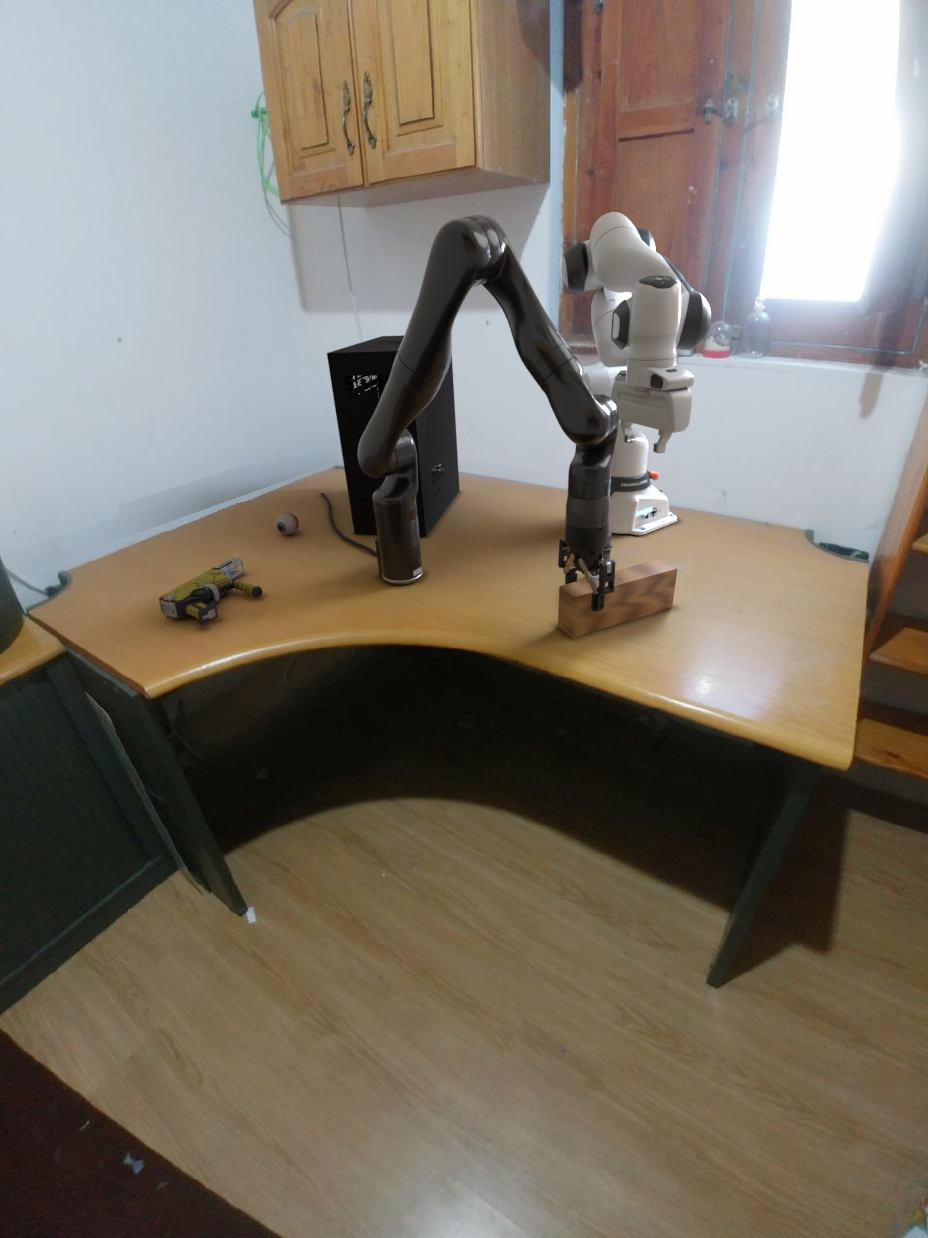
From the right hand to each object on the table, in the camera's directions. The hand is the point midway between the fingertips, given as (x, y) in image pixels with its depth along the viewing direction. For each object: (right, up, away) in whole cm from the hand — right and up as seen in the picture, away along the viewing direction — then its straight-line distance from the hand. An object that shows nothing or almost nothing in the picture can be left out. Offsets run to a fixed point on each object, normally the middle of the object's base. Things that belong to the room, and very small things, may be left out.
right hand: (643, 447), depth 121 cm
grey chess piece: (-6, -26, +11) cm, 29 cm away
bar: (-6, -34, -3) cm, 35 cm away
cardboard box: (-52, -3, +55) cm, 76 cm away
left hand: (-14, -31, -9) cm, 35 cm away
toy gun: (-89, -30, +12) cm, 94 cm away
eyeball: (-84, -11, +44) cm, 95 cm away
